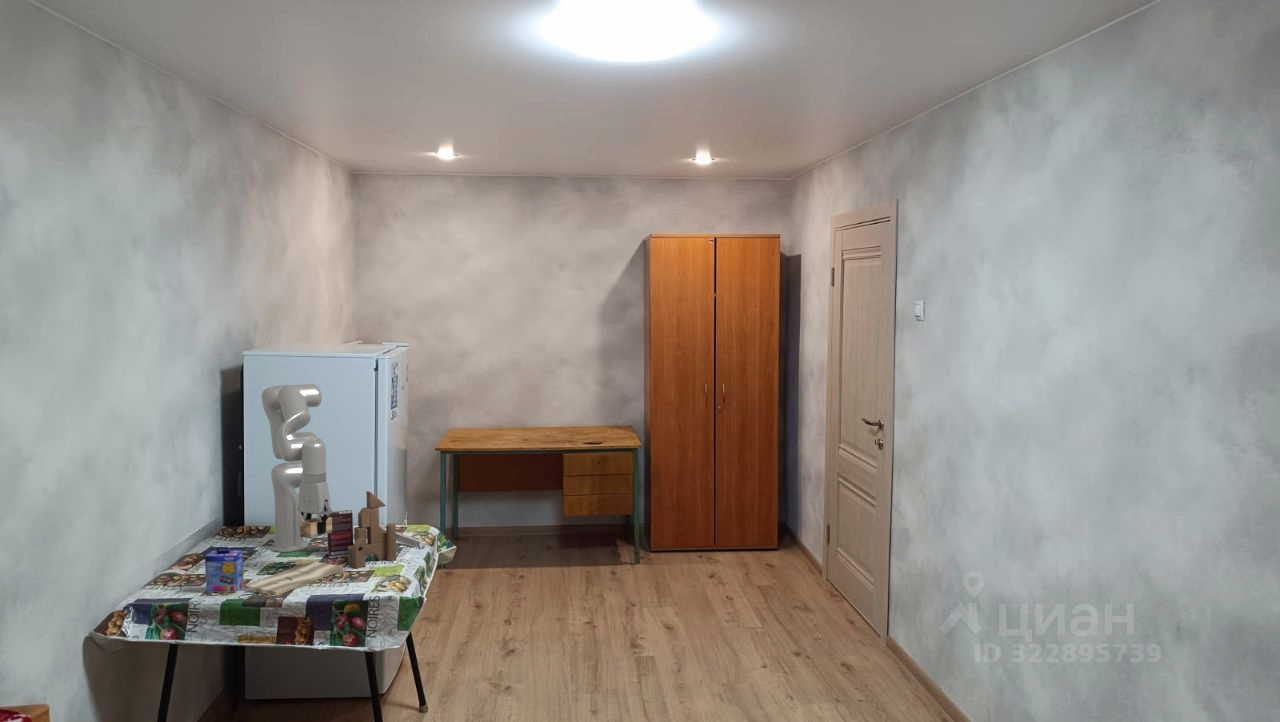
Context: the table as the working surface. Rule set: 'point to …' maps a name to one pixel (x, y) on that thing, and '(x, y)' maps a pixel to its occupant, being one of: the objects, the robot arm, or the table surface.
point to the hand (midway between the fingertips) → (315, 531)
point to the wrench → (405, 539)
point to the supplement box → (340, 534)
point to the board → (293, 578)
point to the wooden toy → (372, 536)
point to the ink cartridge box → (224, 570)
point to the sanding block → (313, 528)
